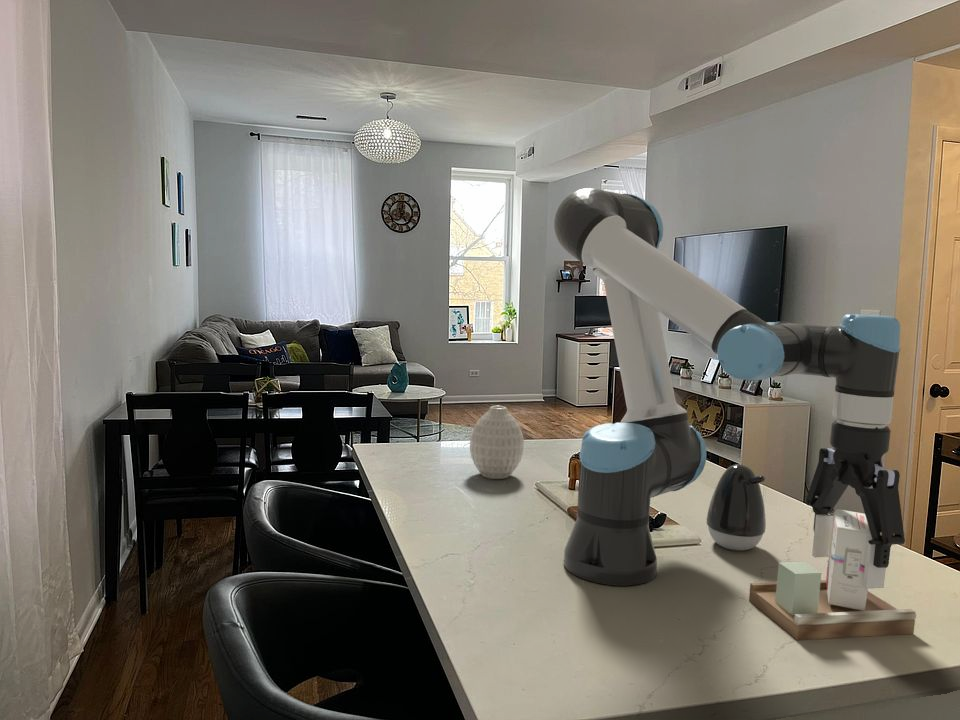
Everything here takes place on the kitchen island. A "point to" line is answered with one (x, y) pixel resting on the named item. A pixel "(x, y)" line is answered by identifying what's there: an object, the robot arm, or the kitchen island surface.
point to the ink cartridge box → (848, 560)
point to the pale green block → (798, 588)
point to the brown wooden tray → (834, 616)
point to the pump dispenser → (737, 509)
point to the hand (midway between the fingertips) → (845, 571)
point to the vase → (496, 443)
